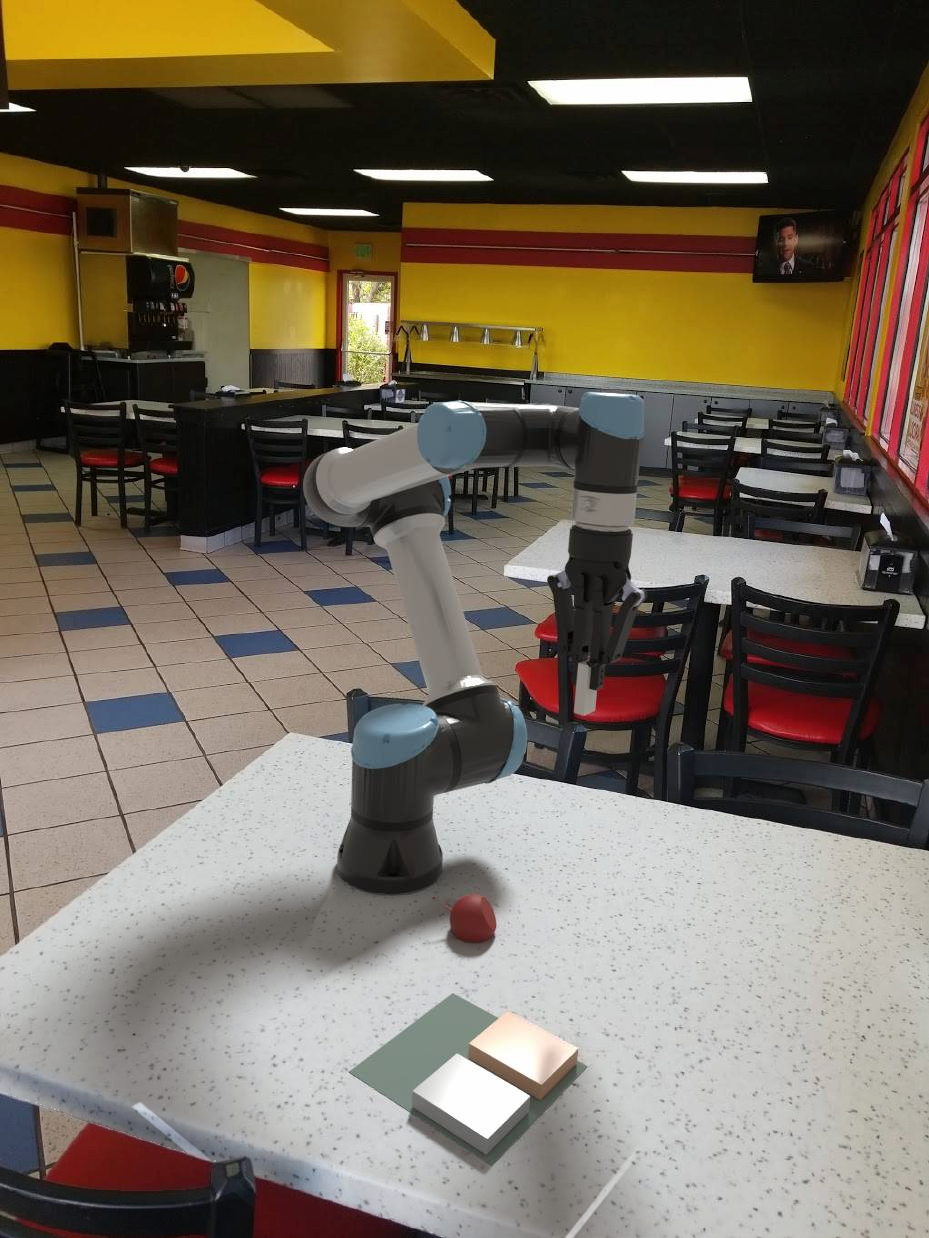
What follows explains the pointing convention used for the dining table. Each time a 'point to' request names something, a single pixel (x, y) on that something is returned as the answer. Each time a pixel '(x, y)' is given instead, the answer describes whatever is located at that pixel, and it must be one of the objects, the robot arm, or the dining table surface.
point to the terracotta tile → (523, 1054)
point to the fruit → (472, 918)
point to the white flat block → (471, 1102)
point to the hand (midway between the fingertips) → (584, 711)
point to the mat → (430, 1049)
